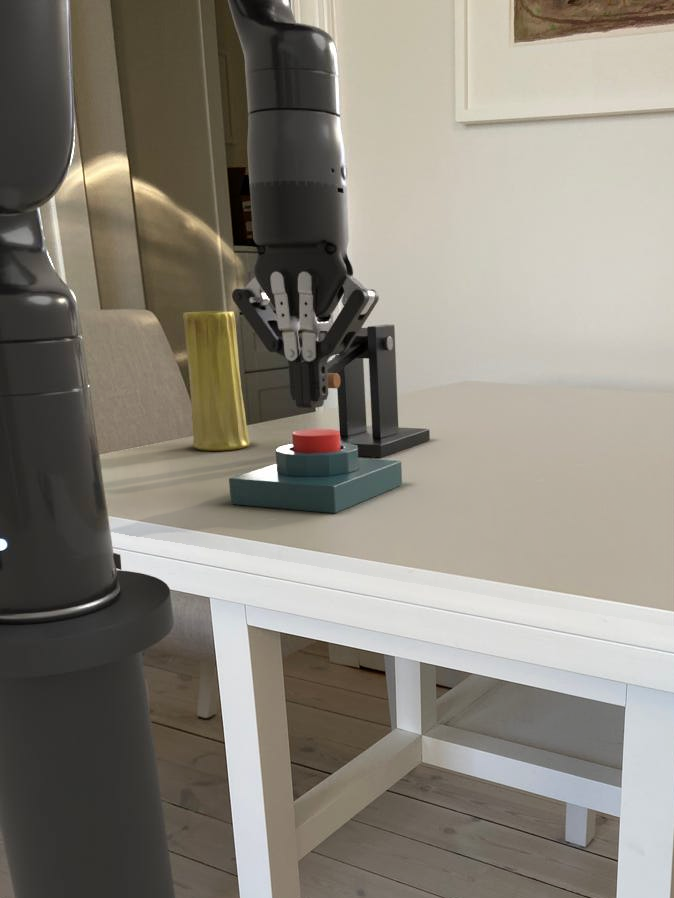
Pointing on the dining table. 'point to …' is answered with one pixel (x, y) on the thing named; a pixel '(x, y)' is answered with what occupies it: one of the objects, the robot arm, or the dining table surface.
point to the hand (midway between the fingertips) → (310, 406)
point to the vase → (215, 381)
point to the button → (316, 440)
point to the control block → (316, 480)
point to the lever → (347, 357)
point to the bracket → (374, 400)
